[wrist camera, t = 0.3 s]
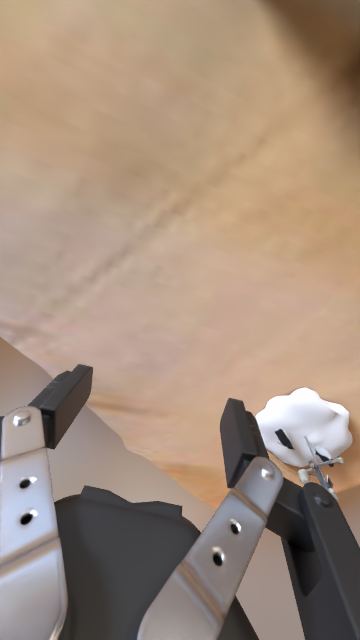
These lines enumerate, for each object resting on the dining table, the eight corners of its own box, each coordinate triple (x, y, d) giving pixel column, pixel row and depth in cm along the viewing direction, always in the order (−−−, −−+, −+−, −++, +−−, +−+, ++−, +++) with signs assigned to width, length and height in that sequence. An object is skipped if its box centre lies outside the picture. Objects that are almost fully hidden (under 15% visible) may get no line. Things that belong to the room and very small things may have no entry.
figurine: (371, 430, 47) (449, 517, 31) (300, 475, 52) (337, 568, 37) (302, 369, 45) (348, 429, 30) (237, 421, 51) (247, 495, 35)
